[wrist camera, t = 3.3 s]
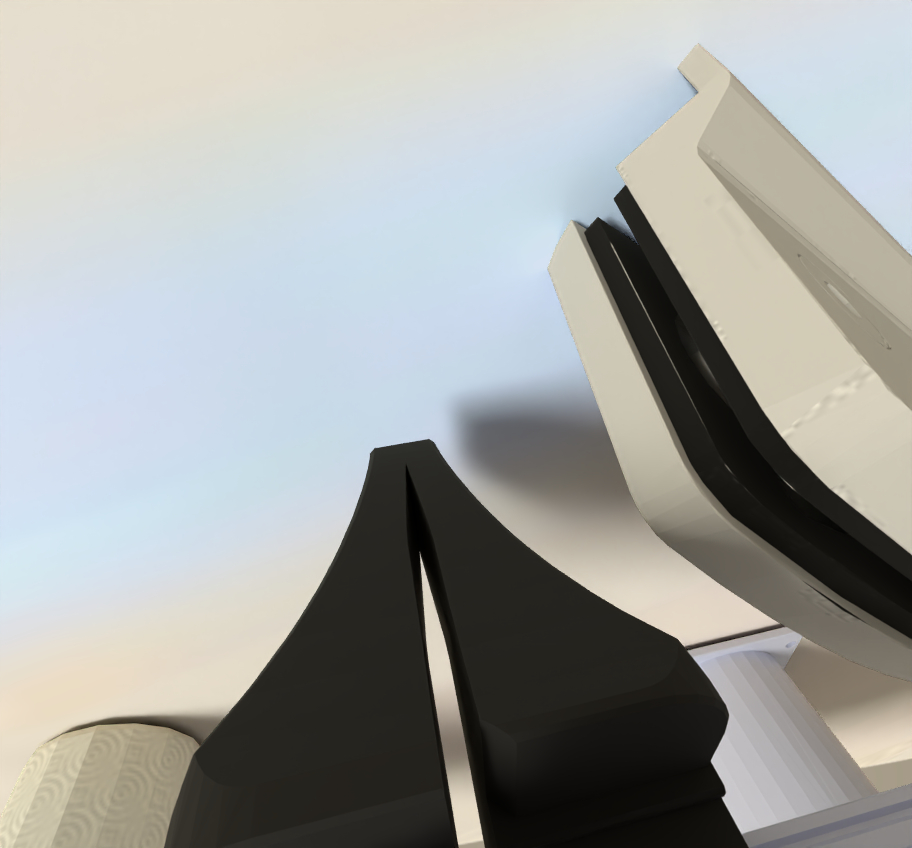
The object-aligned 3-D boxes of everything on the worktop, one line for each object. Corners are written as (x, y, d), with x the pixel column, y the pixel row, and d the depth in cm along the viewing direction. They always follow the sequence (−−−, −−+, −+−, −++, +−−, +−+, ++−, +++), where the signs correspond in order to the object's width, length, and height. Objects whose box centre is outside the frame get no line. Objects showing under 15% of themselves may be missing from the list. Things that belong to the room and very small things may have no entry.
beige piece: (1009, 358, 17) (1357, 690, 10) (859, 432, 20) (1056, 723, 13) (684, 29, 10) (1155, 442, 3) (529, 225, 13) (617, 634, 6)
